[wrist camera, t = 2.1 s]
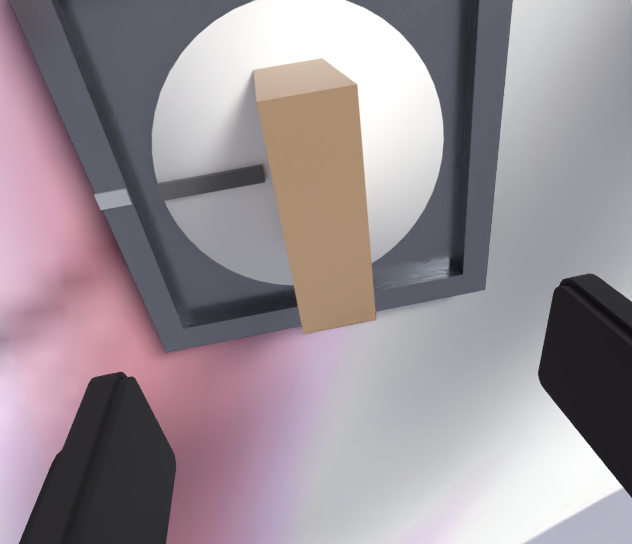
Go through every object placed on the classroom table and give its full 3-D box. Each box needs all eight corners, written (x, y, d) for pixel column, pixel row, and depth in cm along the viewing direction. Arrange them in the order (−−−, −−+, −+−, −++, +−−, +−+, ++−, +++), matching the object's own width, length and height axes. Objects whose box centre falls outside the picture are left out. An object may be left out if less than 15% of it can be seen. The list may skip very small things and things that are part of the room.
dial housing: (497, -129, 18) (529, -146, 16) (469, 271, 29) (486, 291, 27) (10, -53, 17) (-21, -60, 15) (171, 329, 28) (165, 354, 26)
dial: (438, -32, 18) (551, -51, 11) (434, 251, 26) (500, 339, 19) (107, 23, 18) (21, 36, 11) (202, 296, 25) (186, 402, 19)
